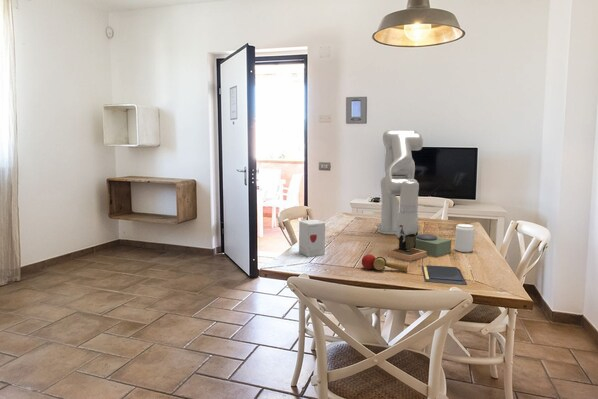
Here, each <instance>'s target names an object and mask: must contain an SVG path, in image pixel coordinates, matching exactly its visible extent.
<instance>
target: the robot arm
mask: <svg viewBox="0 0 598 399" xmlns="http://www.w3.org/2000/svg"><path fill="white" fill-rule="evenodd" d="M382 142H383V144H384V147H385V148H384V149H385V155H384V157H385V158H384V172H385V176H384V177H382V178H381V180H380V190H381V191H380V193H381V215H380V219H381V220H380V222H377V224H376V225H375V226H376V228H377V227H378V230H377V232H378V233H379V234H383V235H395V236H396V239H397V241H398V248H399V250H403V251H405V250H406V242H405V239H406V236H407V235H410V236H411V234H413V235H414V236H415V234H416V235H418V233H419V232H420V228H419V215H418V210H419V209H418V208H419V207H418V206H419V190H420V184H419V182H418V180H417V179H415V172H416V165H415V161H414V159H413V156H412V154H413V153H412V151H421V150H422V149H423V146H424V139H423V136H422V134H421V133H420V132H419V131H417V130H415V129H414V130H413V129H412V130H411V129H404V130H403V129H402V130H401V129H400V130H399V129H393V130H391V129H390V130H388V129H387V130H386V131H384V132H383V133H382ZM397 196H399V198H398V197H397ZM403 233H404V234H403ZM402 236H404V237H403V238H402ZM416 238H417V236H416ZM415 247H416V242H415V246H414V247H413V248H415Z"/></svg>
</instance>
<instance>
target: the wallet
mask: <svg viewBox="0 0 598 399" xmlns="http://www.w3.org/2000/svg"><path fill="white" fill-rule="evenodd" d="M421 270H422V275H423V279H424V282H425V283H432V284H433V283H435V284H447V285H458V286H459V285H460V286H467V285H468V283H467V281H466V279H465V278H464V277H465V276H463V273H462V270H461V269H460V268H458V267H457V266H445V265H444V266H443V265H426V266H425V265H422V266H421Z"/></svg>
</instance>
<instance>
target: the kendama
mask: <svg viewBox="0 0 598 399" xmlns="http://www.w3.org/2000/svg"><path fill="white" fill-rule="evenodd" d="M361 265H362V267H363V268H364V269H365V270H373V269H376V270H378V271H382V270H383V269H384V268H385V267H387V268H389V269H394V270H397V271H401V272H404V273H407V272H408V268H409V265H408V264H404V263H403V264H402V263H398V262H397V263H396V262H388V261H387V259H386V258H385V256H383V255H380V256H377V257H375V255H373V254H371V253H368V254H367V253H366V254H365V255H363V256H362V258H361Z"/></svg>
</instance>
